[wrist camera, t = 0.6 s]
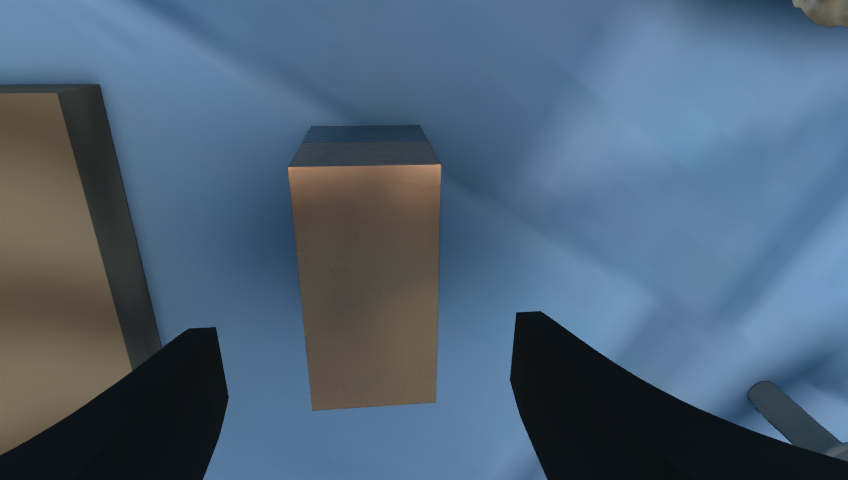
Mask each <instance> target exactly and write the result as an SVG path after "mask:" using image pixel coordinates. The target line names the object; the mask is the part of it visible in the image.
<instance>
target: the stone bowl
mask: <svg viewBox="0 0 848 480" xmlns="http://www.w3.org/2000/svg"><path fill="white" fill-rule="evenodd" d="M792 2H793V5H794V7H800V8H801V9H802V10H803V12H804V13H805V15H806V16H807V17H808V18H809V19H810V20H811V21H813V22H814V23H815V24H818V25H822V26H826V27H835V26H839V25H842V26H844V27H848V0H792Z"/></svg>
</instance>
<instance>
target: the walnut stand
mask: <svg viewBox="0 0 848 480" xmlns="http://www.w3.org/2000/svg"><path fill="white" fill-rule="evenodd" d="M160 349H162V348H161V344H160V339H159V335H158V331H157V327H156V323H155V318H154V314H153V310H152V306H151V301H150V297H149V293H148V289H147V285H146V280H145V276H144V272H143V268H142V264H141V259H140V255H139V251H138V247H137V242H136V238H135V234H134V230H133V226H132V221H131V217H130V213H129V209H128V205H127V200H126V196H125V192H124V188H123V183H122V179H121V175H120V171H119V167H118V162H117V158H116V154H115V150H114V145H113V141H112V137H111V133H110V129H109V124H108V120H107V116H106V112H105V108H104V103H103V99H102V95H101V91H100V87H99V85H0V455H2V454H3V453H5V452H7V451H9V450H11V449H13V448H15V447H17V446H19V445H20V444H22V443H24V442H26V441H27V440H29V439H31V438H32V437H34V436H36V435H37V434H39V433H41V432H43V431H44V430H46V429H48V428H49V427H51V426H53V425H54V424H56V423H58V422H59V421H61V420H62V419H64V418H65V417H67V416H69V415H70V414H72V413H73V412H75V411H76V410H78V409H79V408H81V407H82V406H84V405H85V404H87V403H88V402H89V401H91V400H92V399H94V398H95V397H97V396H98V395H99V394H101V393H102V392H104V391H105V390H107V389H108V388H109V387H111V386H112V385H114V384H115V383H117V382H118V381H119V380H121V379H122V378H124V377H125V376H126V375H127V374H129V373H130V372H131V371H133V370H134V369H135V368H137V367H138V366H139V365H141V364H142V363H143V362H145V361H146V360H147V359H149V358H150V357H151V356H152V355H154V354H155V353H156V352H158V351H159V350H160Z"/></svg>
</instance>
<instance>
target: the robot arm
mask: <svg viewBox="0 0 848 480" xmlns="http://www.w3.org/2000/svg"><path fill="white" fill-rule="evenodd" d="M510 381H511V385H512V389H513V393H514V396H515V400H516V403H517V407H518V410H519V414H520V417H521V419H522V421H523V424H524V426H525V429H526V431H527V433H528V436H529V438H530V440H531V443H532V445H533V447H534V450H535V452H536V454H537V457H538V459H539V461H540V463H541V466H542V468H543V470H544V473H545V475H546V477H547V480H848V461H845V460H841V459H838V458H835V457H831V456H828V455H824V454H821V453H818V452H814V451H811V450H808V449H804V448H801V447H797V446H794V445H791V444H788V443H785V442H782V441H779V440H777V439H774V438H771V437H768V436H765V435H763V434H760V433H757V432H754V431H751V430H749V429H746V428H744V427H741V426H739V425H736V424H733V423H731V422H728V421H726V420H724V419H721V418H719V417H717V416H714V415H712V414H710V413H708V412H705V411H703V410H701V409H698V408H696V407H694V406H692V405H690V404H688V403H686V402H683V401H681V400H679V399H677V398H675V397H673V396H672V395H670V394H668V393H666V392H664V391H662V390H660V389H658V388H656V387H654V386H652V385H651V384H649V383H647V382H645V381H644V380H642V379H640V378H638V377H637V376H635V375H633V374H632V373H630V372H629V371H627V370H625V369H624V368H622V367H620V366H619V365H617V364H616V363H614V362H613V361H611V360H609V359H608V358H606V357H605V356H603V355H602V354H600V353H599V352H598V351H596V350H595V349H593V348H592V347H590V346H589V345H587V344H586V343H585V342H583V341H582V340H580V339H579V338H578V337H576V336H575V335H573V334H572V333H571V332H569V331H568V330H567V329H565V328H564V327H562V326H561V325H560V324H558V323H557V322H555V321H554V320H553V319H551V318H550V317H548V316H547V315H545V314H544V313H542V312H541V311H536V312H516V322H515V332H514V343H513V353H512V364H511V375H510ZM228 398H229V396H228V391H227V385H226V380H225V375H224V369H223V364H222V358H221V353H220V347H219V342H218V336H217V331H216V327H211V328H191V329H187V330H186V331H184V332H183V333H182V334H180V335H179V336H177V337H176V338H175V339H173V340H172V341H171V342H169V343H168V344H167V345H165V346H164V347H163V348H162V349H160V350H159V351H158V352H156V353H155V354H154V355H152V356H151V357H150V358H149V359H147V360H146V361H145V362H143V363H142V364H141V365H139V366H138V367H137V368H135V369H134V370H133V371H131V372H130V373H129V374H127V375H126V376H125V377H124V378H122V379H121V380H119V381H118V382H117V383H115V384H114V385H112V386H111V387H109V388H108V389H107V390H105V391H104V392H102V393H101V394H99V395H98V396H97V397H95V398H94V399H92V400H91V401H89V402H88V403H87V404H85V405H84V406H82V407H81V408H79V409H78V410H76V411H75V412H73V413H72V414H70V415H69V416H67V417H65V418H64V419H62V420H61V421H59V422H58V423H56V424H54V425H53V426H51V427H49V428H48V429H46V430H44V431H43V432H41V433H39V434H37V435H36V436H34V437H32V438H31V439H29V440H27V441H26V442H24V443H22V444H20V445H19V446H17V447H15V448H13V449H11V450H9V451H7V452H5V453H3V454H2V455H0V480H203V478H204V475H205V473H206V470H207V467H208V465H209V462H210V460H211V457H212V454H213V452H214V449H215V447H216V444H217V441H218V439H219V435H220V432H221V428H222V424H223V420H224V416H225V411H226V407H227V402H228Z"/></svg>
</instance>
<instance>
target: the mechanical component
mask: <svg viewBox="0 0 848 480" xmlns="http://www.w3.org/2000/svg"><path fill="white" fill-rule="evenodd" d="M748 396H749V398H750V400H751V402H752V403H753V404H754V405H755V409H756V410H757V411H758V412H759V413H761V414H762V416H763V417H764V418H765V419H766V420H767V421H768V422H769V423H770V424H771V425H772V426H773V427H774V428H775V429H777V430H778V431H779V432H780V433H781V434H782V435H783V436H784V437H785V438H786V439H787V440H788V441H790V442H791V443H792V444H793V445H794V446H797V447H801V448H804V449H808V450H811V451H814V452H818V453H821V454H824V455H828V456H831V457H835V458H838V459H841V460H845V461H848V442H845V443H842V442H840V441H839V440H838V439H837V438H836V437H834V436H833V435H832V434H831V433H830V432H829V431H827V430H826V429H825V428H824V427H823V426H821V425H820V424H819V423H818V422H817V421H816V420H814V419H813V418H812V417H811V416H810V415H809V414H808V413H806V412H805V411H804V410H803V409H802V408H801V407H800V406H799V405H797V404H796V403H795V402H794V401H793V400H792V399H791V398H790V397H789V396H787V395H786V394H785V393H783V392H782V391H781V390H780V389H779V388H778V387H776V386H775V385H773V384H772V383H770V382H767V381H765V382H760V383H758V384H756V385H755V386H753V387H752V388H751V389H750V391H749V392H748Z"/></svg>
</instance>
